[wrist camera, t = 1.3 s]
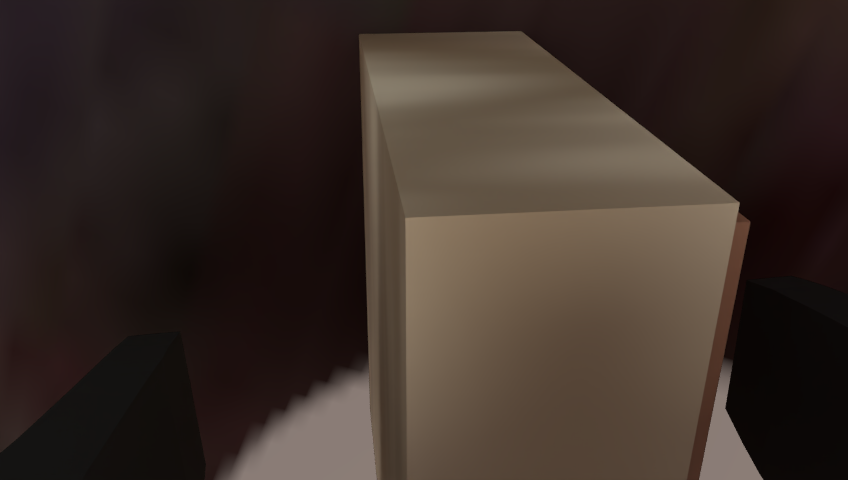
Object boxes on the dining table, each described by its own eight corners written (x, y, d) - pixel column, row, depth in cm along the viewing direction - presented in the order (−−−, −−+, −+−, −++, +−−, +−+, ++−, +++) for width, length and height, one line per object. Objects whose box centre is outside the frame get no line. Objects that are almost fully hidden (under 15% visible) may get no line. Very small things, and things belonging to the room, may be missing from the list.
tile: (539, 30, 12) (777, 201, 6) (514, 399, 15) (654, 774, 9) (358, 33, 12) (405, 217, 6) (370, 409, 15) (408, 805, 9)
